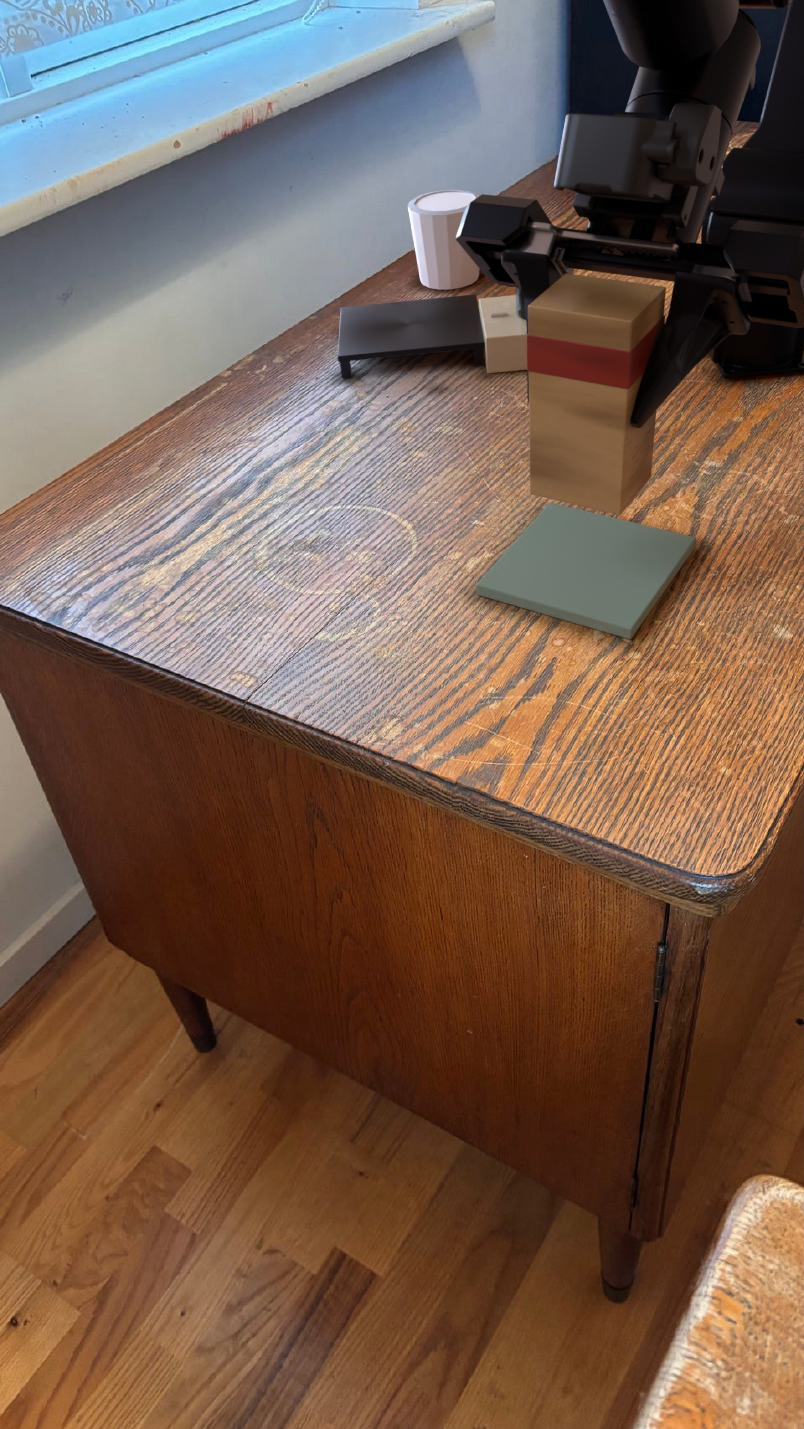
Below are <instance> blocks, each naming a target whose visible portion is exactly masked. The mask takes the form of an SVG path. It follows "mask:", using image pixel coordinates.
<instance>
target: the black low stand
mask: <svg viewBox="0 0 804 1429" xmlns="http://www.w3.org/2000/svg"><path fill="white" fill-rule="evenodd" d="M337 346H338V348H337V361H338V363H339V367H340V374H341V379H352V375H353V372H352V365H351V362H353V361H363V360H373V359H383V358H395V357H405V356H415V355H416V356H417V355H424V354H425V355H427V354H435V353H436V354H437V353H447V352H448V353H449V352H457V351H458V352H459V351H467V350H473V364H474V367H479V366H485V357H484V348H485V341H484V335H483V329H482V324H481V318H480V312H479V300H478V296H477V294H465V295H463V294H462V295H454V296H453V295H452V296H444V297H433V298H425V299H422V298H421V299H415V300H406V301H405V300H404V301H394V302H393V301H392V302H383V303H372V304H363V305H352V306H344V307H342V306H341V307H340V315H339V329H338V345H337Z"/></svg>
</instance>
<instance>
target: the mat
mask: <svg viewBox="0 0 804 1429" xmlns="http://www.w3.org/2000/svg"><path fill="white" fill-rule="evenodd" d="M696 541H697V538H696V537H695V536H692V535H688V534H683V533H679V532H674V531H671V530H666V529H663V528H657V527H654V526H650V525H649V526H648V525H645V524H641V523H638V522H633V521H629V520H624V519H621V518H616V517H612V516H609V515H604V514H599V513H596V512H591V511H587V510H583V509H579V508H574V507H571V506H567V505H562V504H558V503H553V502H549V503H548V504H547V505H546V506H545V507H544V508H543V509H542V510H541V512H540V513H539V514H537V516H536V517H535V518H534V519H533V521H531V523H530V524H529V525H528V526H527V527H526V528H525V529H524V530H523V532H522V533H521V534H519V536H518V537H517V538H516V539H515V541H514V542H513V543H512V544H510V546H509V547H508V549H506V551H505V552H504V553H503V554H502V555H501V556H500V557H499V558H498V559H497V561H496V562H495V563H494V564H493V565H492V566H491V567H490V569H489V570H488V571H487V572H486V573H484V575H483V577H481V578H480V579H479V581H478V582H477V583H476V584H475V586H476V588H475V590H476V595H477V596H481V597H484V598H486V599H491V600H494V601H498V602H501V603H505V604H507V605H512V606H513V607H518V608H522V609H525V610H529V611H532V612H535V613H538V614H541V615H546V616H549V617H551V618H555V619H559V620H562V621H566V622H568V623H572V624H576V625H578V626H579V625H580V626H582V627H585V628H586V627H587V628H589V629H594V630H597V631H599V632H603V633H607V634H610V635H613V636H618V637H619V638H620V637H621V638H623V639H627V640H632V639H633V637H634V635H635V634H636V633H637V632H638V630H639V629H640V627H641V626H642V624H643V623H644V621H645V620H646V618H647V617H648V615H649V614H650V613H651V611H652V610H653V609H654V607H655V605H656V604H657V603H658V601H659V600H660V598H661V597H662V595H663V594H664V593H665V591H666V590H667V588H668V587H669V585H670V584H671V582H672V581H673V579H674V578H675V577H676V575H677V574H678V573H679V571H680V569H681V568H682V567H683V565H684V564H685V562H686V561H687V560H688V558H689V557H690V555H691V554H692V552H693V551H694V549H695V548H696V543H697V542H696Z"/></svg>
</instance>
